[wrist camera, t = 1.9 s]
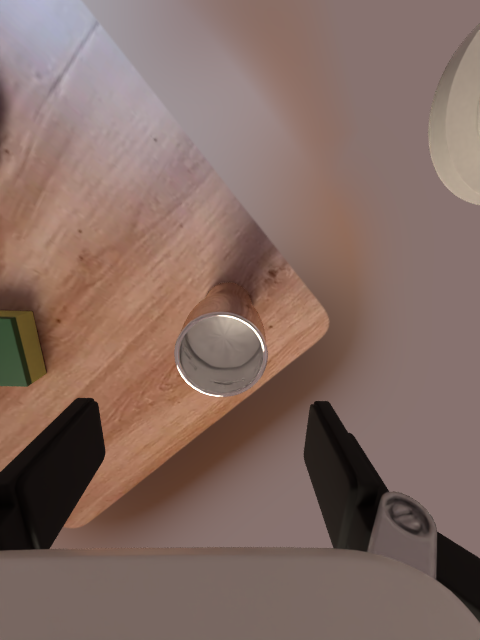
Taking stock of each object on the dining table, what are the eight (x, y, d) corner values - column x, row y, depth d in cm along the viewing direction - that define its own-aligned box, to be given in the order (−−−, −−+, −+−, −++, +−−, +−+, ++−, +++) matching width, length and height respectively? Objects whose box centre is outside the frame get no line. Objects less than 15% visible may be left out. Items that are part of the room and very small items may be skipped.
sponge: (-16, 309, 31) (-44, 317, 28) (32, 311, 31) (9, 318, 28) (2, 372, 34) (-22, 385, 31) (46, 373, 34) (27, 386, 31)
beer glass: (228, 341, 33) (221, 416, 18) (189, 304, 31) (150, 356, 17) (266, 306, 31) (291, 357, 17) (228, 266, 30) (220, 286, 16)
